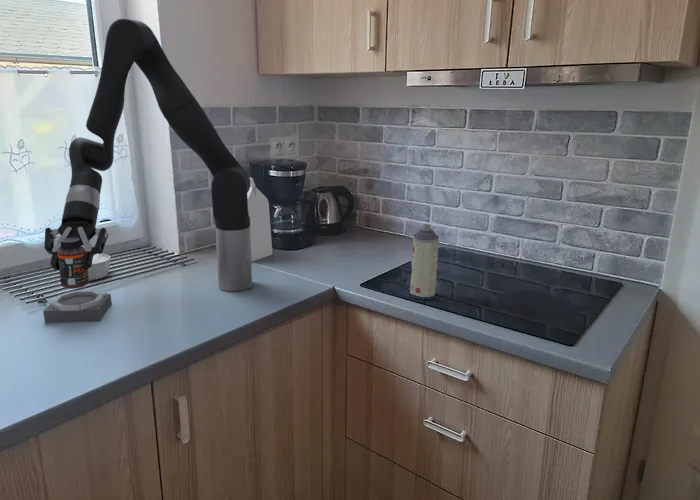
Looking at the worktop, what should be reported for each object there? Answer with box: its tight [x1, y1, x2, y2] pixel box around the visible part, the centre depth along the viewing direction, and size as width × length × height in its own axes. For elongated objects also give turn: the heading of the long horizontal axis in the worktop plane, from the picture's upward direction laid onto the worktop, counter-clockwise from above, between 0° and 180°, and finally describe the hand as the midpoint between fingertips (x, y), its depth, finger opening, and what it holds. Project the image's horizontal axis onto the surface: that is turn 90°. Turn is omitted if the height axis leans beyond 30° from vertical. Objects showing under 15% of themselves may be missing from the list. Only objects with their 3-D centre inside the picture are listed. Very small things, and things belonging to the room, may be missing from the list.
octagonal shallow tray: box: [42, 289, 113, 324], centre depth 128 cm, size 12×10×4 cm
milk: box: [247, 177, 273, 262], centre depth 172 cm, size 12×12×26 cm
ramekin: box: [88, 253, 112, 281], centre depth 153 cm, size 11×11×5 cm
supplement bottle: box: [57, 238, 90, 290], centre depth 124 cm, size 6×6×11 cm
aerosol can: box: [409, 223, 440, 297], centre depth 142 cm, size 7×7×20 cm
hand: (70, 268), depth 123 cm, fingers closed on supplement bottle, 6 cm apart
